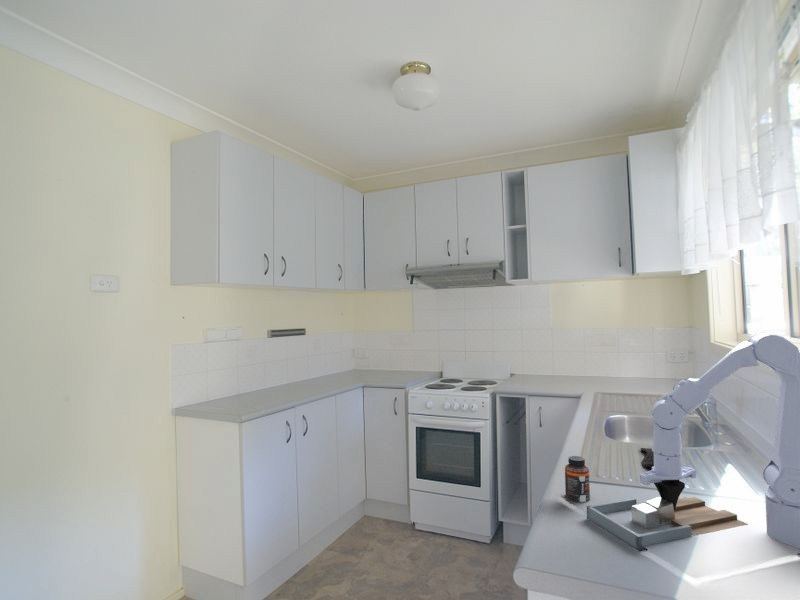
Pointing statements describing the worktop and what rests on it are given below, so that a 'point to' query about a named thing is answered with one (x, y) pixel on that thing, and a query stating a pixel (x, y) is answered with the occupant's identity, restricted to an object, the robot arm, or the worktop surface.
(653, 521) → the chip
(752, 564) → the worktop surface
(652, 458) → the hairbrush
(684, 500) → the slot board
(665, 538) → the tray
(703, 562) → the worktop surface
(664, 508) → the chip
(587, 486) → the supplement bottle
